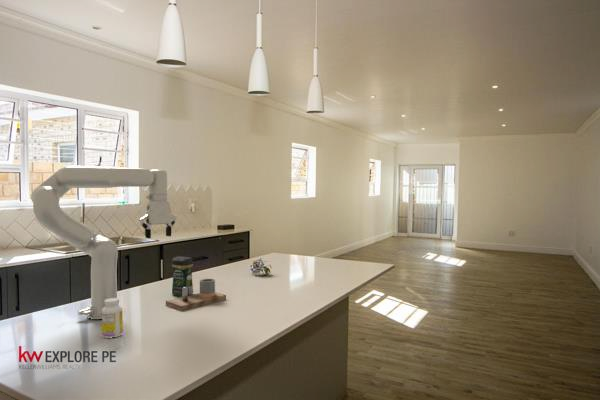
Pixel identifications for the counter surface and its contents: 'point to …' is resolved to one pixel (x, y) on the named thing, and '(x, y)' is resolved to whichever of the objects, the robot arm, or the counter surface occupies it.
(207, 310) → the counter surface
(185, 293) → the pins
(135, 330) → the counter surface
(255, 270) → the passion flower
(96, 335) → the counter surface
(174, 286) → the coffee jar
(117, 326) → the supplement bottle
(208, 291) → the sleeve
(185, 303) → the pin board
